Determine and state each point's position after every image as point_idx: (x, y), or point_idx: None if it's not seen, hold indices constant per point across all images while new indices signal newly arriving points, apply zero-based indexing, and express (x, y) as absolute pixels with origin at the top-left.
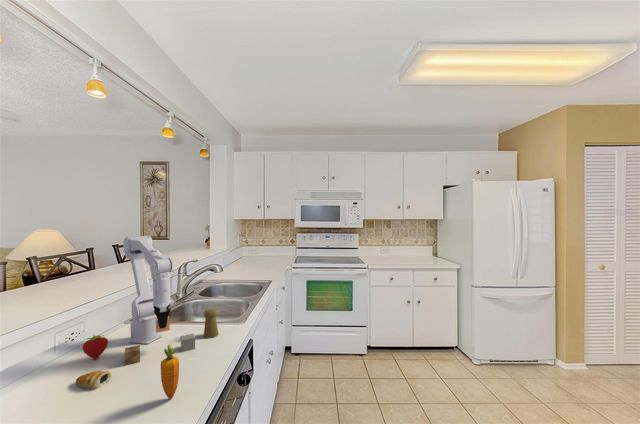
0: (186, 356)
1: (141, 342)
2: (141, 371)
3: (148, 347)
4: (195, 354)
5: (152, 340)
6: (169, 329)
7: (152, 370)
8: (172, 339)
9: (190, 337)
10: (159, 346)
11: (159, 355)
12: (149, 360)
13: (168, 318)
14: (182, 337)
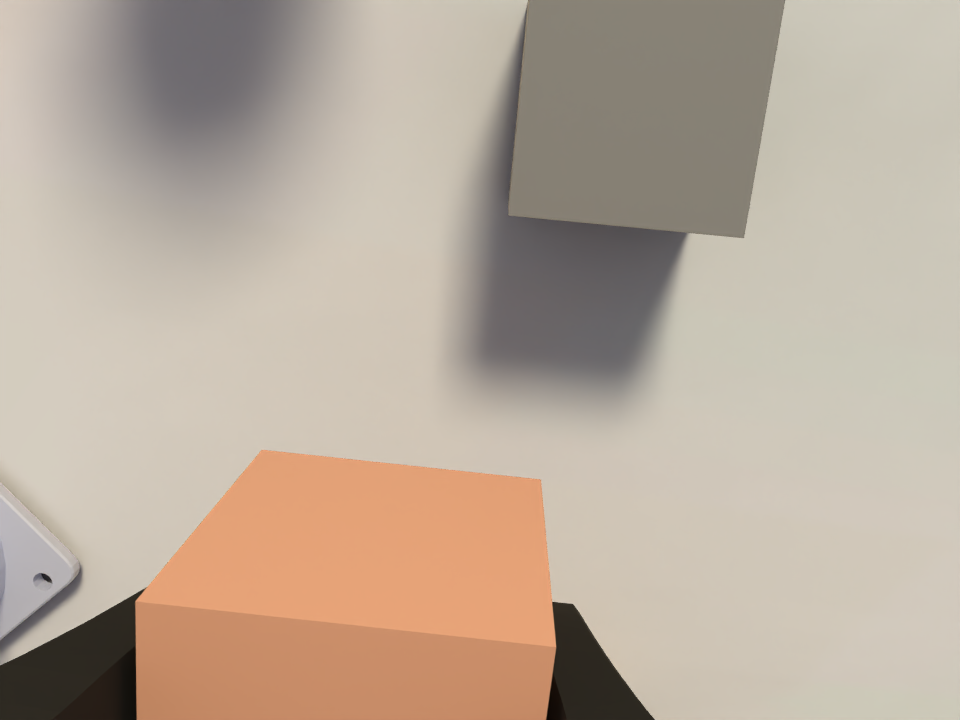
0: (891, 201)
1: (6, 634)
2: (880, 713)
3: None
4: (930, 69)
5: (12, 509)
6: (539, 489)
7: (955, 620)
8: (89, 245)
9: (717, 62)
10: (257, 447)
11: (576, 494)
12: (642, 610)
13: (549, 671)
14: (598, 199)
